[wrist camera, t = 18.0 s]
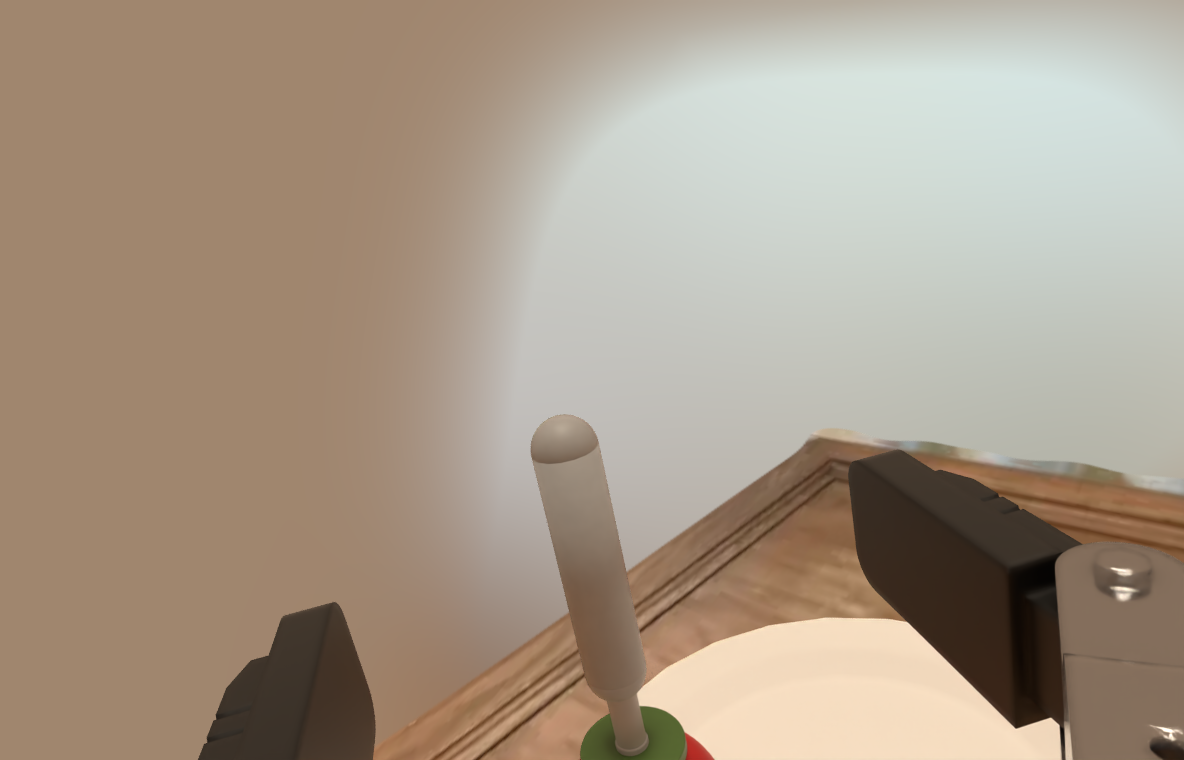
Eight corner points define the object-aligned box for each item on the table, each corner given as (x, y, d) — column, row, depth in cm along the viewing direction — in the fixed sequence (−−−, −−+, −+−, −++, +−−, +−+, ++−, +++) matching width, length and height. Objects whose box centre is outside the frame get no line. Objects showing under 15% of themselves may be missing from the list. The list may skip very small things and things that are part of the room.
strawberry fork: (565, 957, 24) (423, 468, 19) (608, 813, 29) (503, 391, 24) (737, 982, 22) (630, 453, 18) (754, 825, 27) (673, 373, 22)
